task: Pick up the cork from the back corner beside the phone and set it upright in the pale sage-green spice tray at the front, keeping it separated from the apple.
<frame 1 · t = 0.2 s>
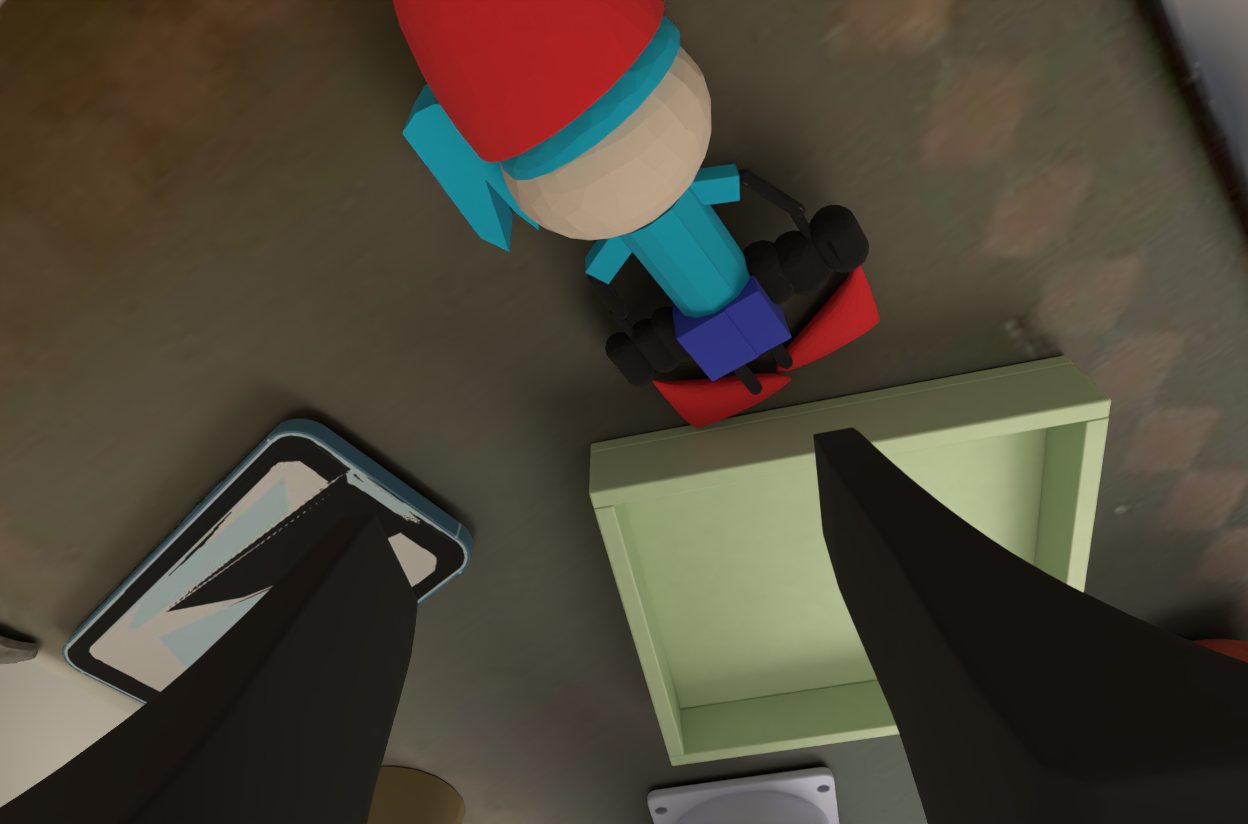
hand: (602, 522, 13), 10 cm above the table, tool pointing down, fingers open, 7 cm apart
toy figure: (636, 166, 20), on the table
smartphone: (267, 586, 27), on the table
spice tray: (835, 559, 27), on the table
apple: (1185, 659, 30), on the table
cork: (397, 803, 34), on the table
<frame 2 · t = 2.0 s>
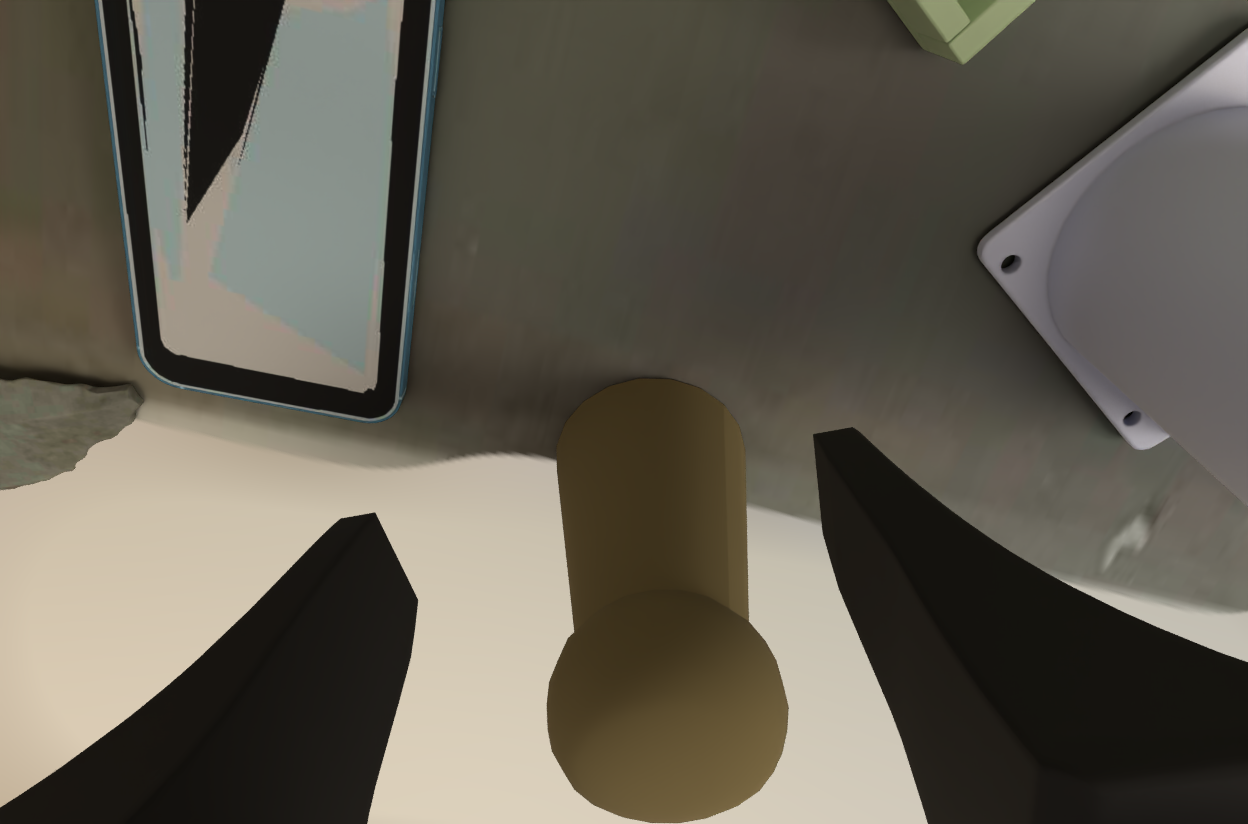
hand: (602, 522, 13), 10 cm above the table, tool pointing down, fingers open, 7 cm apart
smartphone: (284, 139, 19), on the table
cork: (650, 456, 25), on the table
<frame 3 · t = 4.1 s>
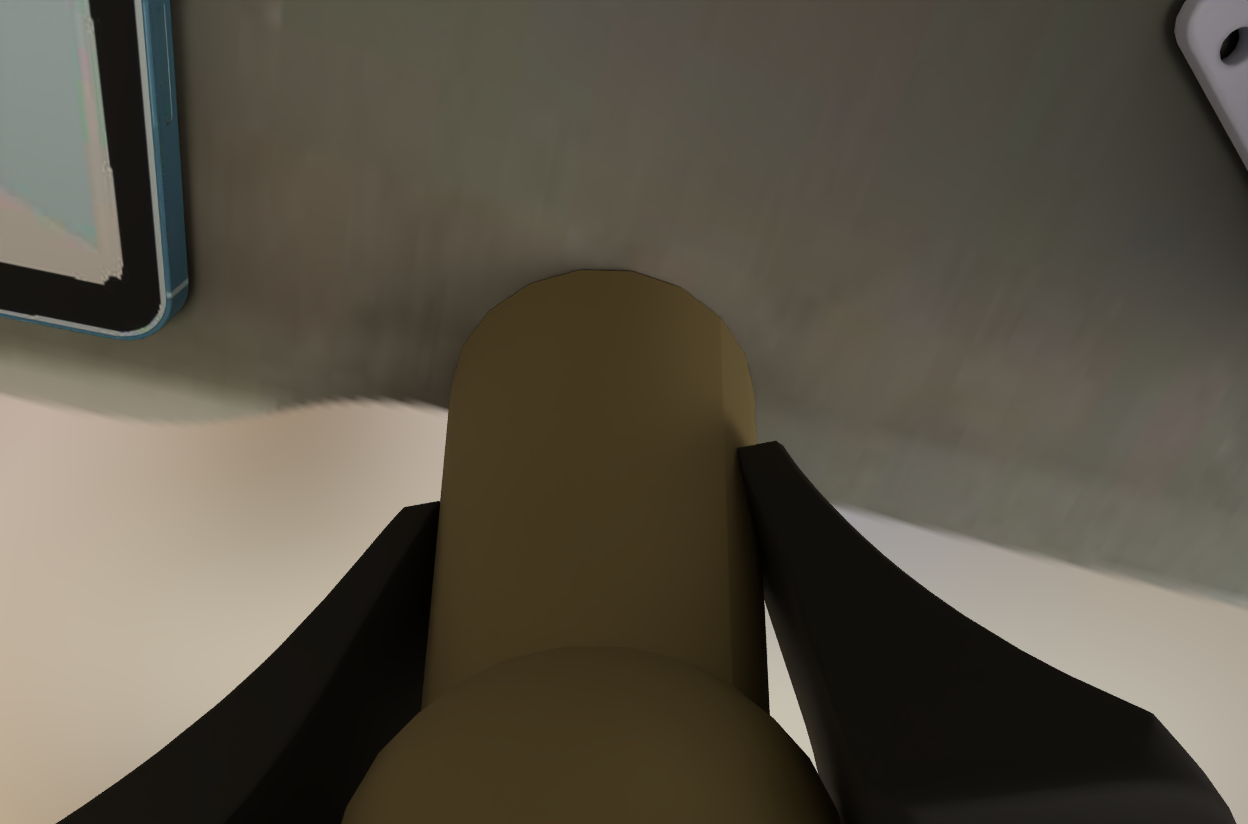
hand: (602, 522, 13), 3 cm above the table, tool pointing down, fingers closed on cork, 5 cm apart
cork: (603, 406, 16), on the table, touching gripper
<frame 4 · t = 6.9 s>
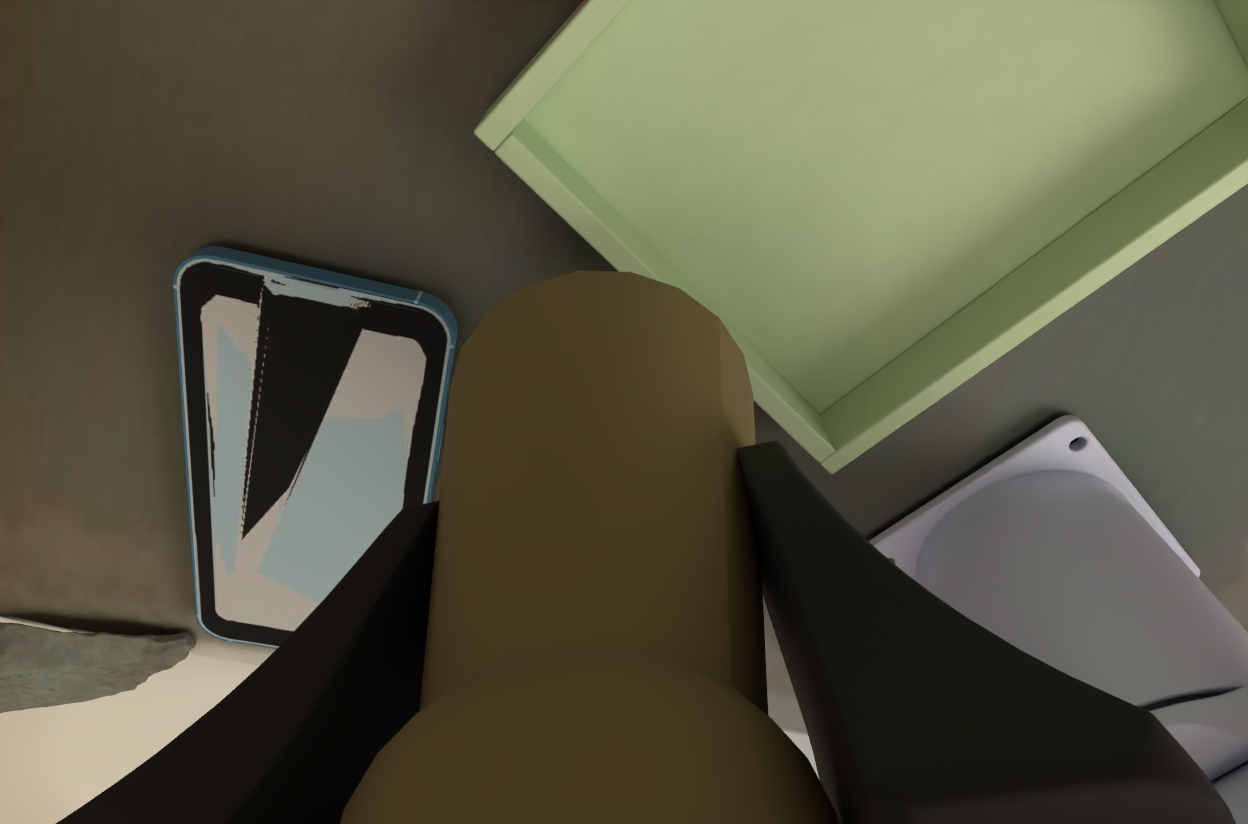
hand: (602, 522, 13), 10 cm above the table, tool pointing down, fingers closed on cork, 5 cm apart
smartphone: (319, 476, 25), on the table
spice tray: (882, 97, 19), on the table
stone: (15, 616, 27), point 1 cm above the table
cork: (602, 406, 16), point 7 cm above the table, touching gripper
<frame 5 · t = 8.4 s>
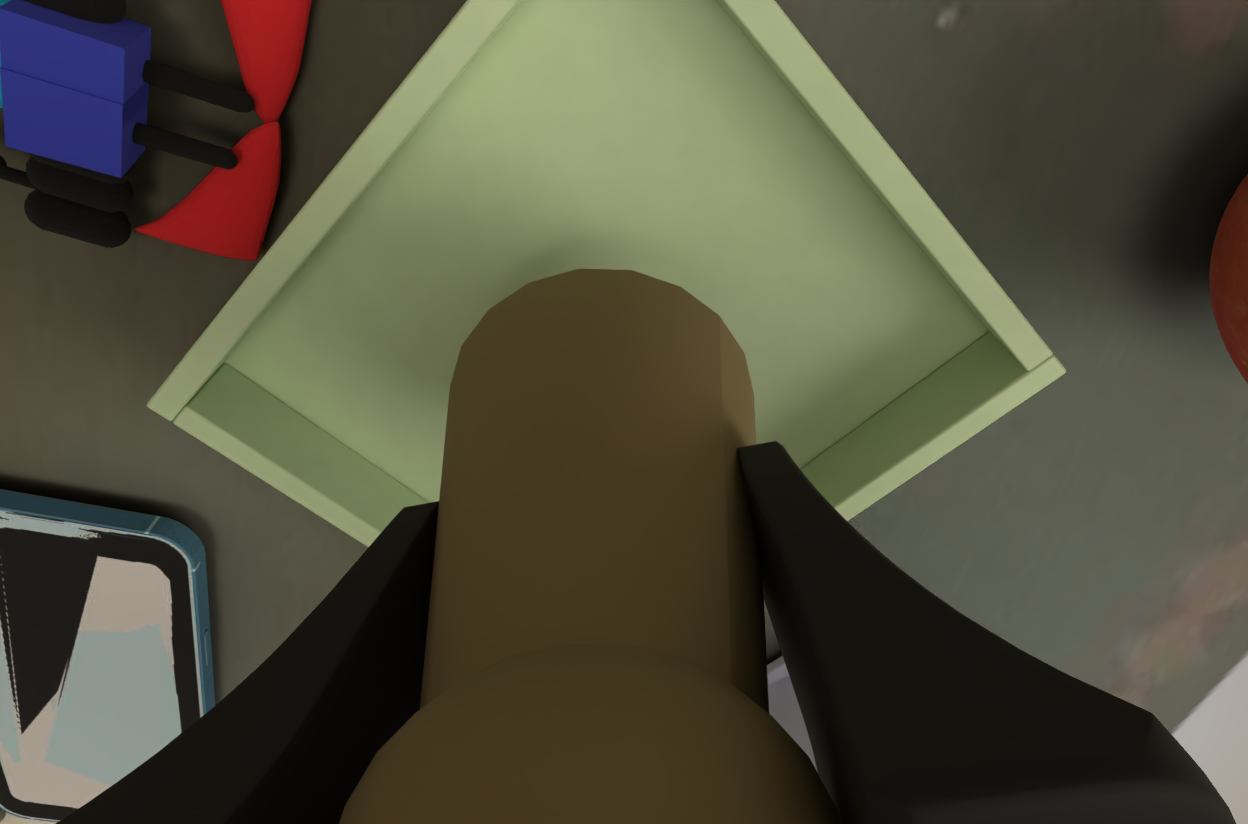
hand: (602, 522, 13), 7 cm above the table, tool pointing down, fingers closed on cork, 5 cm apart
smartphone: (100, 669, 24), on the table
spice tray: (605, 336, 18), on the table
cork: (602, 405, 16), point 3 cm above the table, touching gripper
when the fingers open (4 cm above the table, at t = 9.7 s): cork stays where it is, resting on spice tray.
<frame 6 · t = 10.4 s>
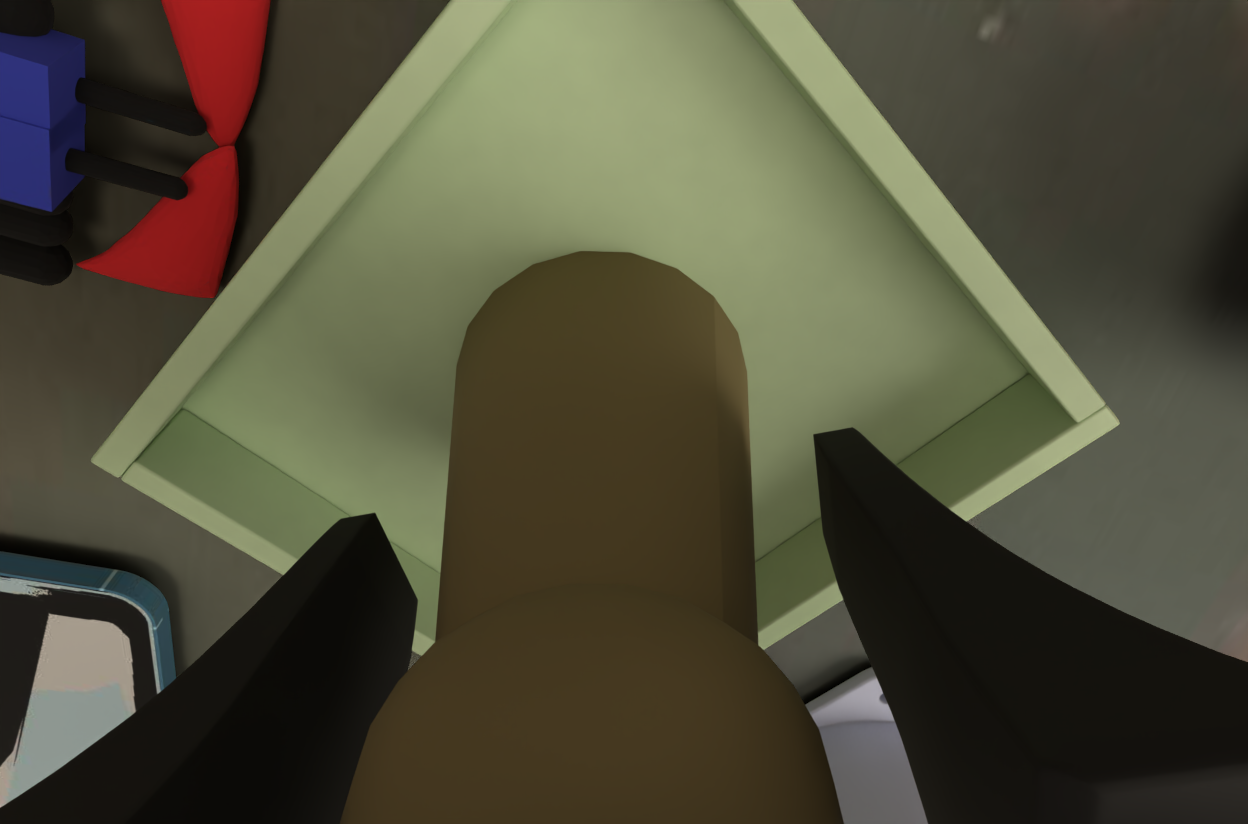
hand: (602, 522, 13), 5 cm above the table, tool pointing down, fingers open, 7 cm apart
smartphone: (60, 725, 23), on the table
spice tray: (603, 377, 17), on the table
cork: (602, 383, 16), resting on spice tray
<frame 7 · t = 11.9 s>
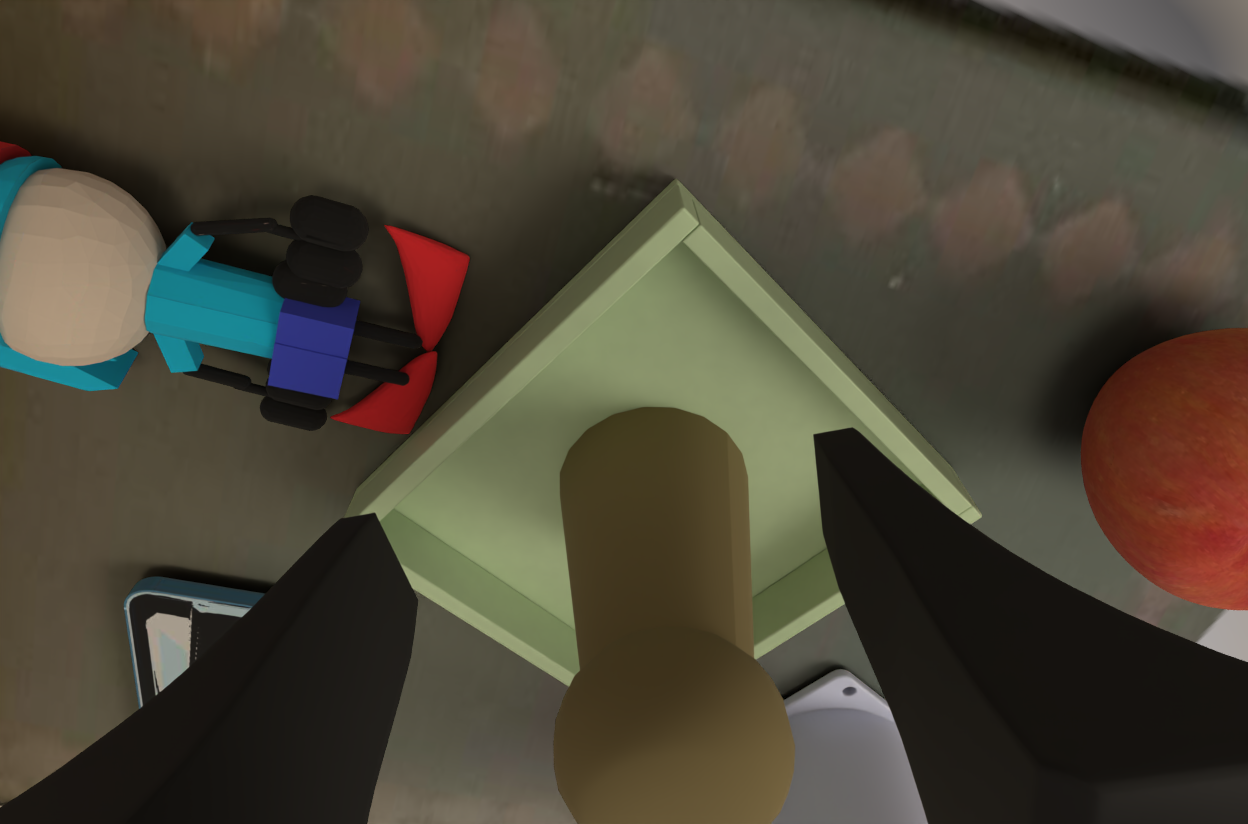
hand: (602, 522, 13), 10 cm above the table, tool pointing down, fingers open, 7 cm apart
toy figure: (183, 258, 21), on the table
smartphone: (249, 710, 31), on the table
spice tray: (653, 477, 25), on the table
apple: (1149, 388, 24), on the table
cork: (653, 483, 25), resting on spice tray
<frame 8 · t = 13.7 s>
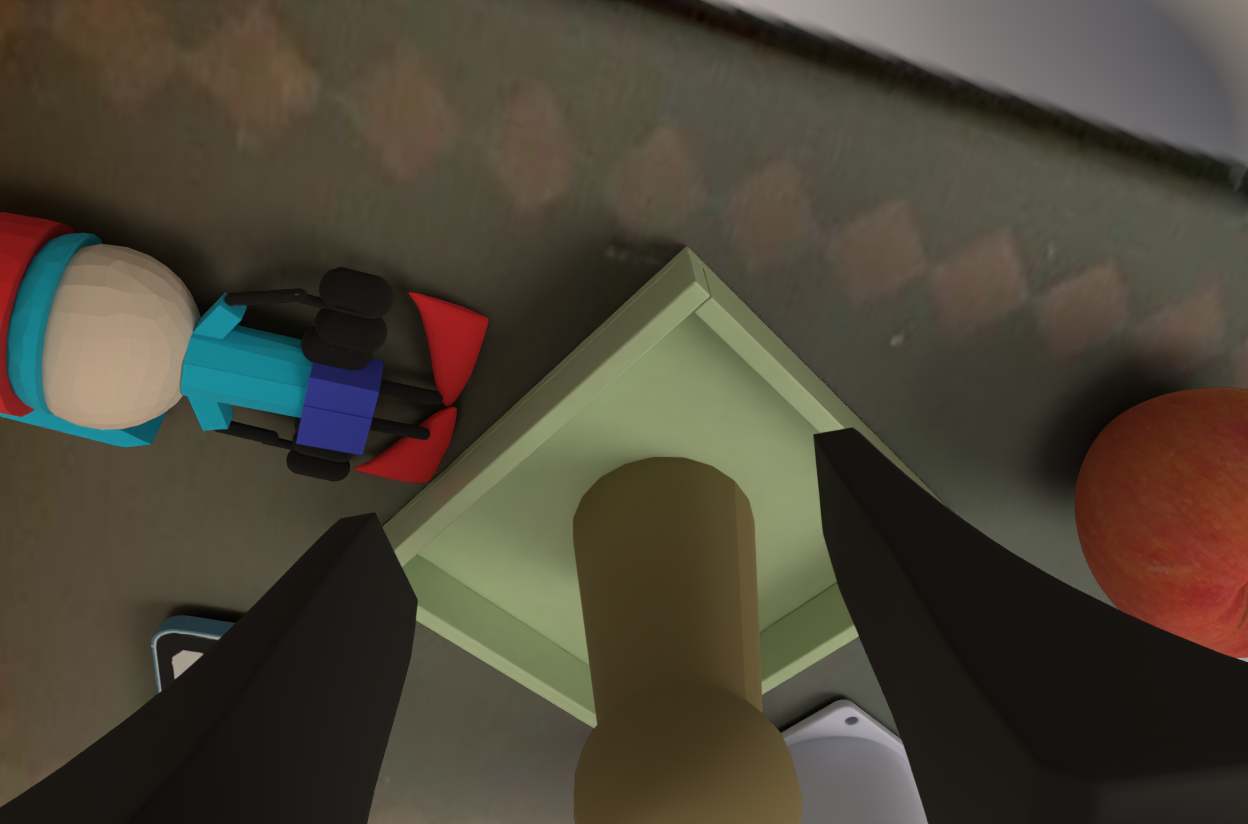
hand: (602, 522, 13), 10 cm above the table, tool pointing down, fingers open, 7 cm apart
toy figure: (213, 319, 22), on the table
smartphone: (269, 739, 32), on the table
spice tray: (663, 521, 26), on the table
apple: (1140, 436, 25), on the table
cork: (662, 526, 26), resting on spice tray
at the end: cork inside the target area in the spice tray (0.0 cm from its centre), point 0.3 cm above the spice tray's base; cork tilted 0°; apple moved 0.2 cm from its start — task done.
